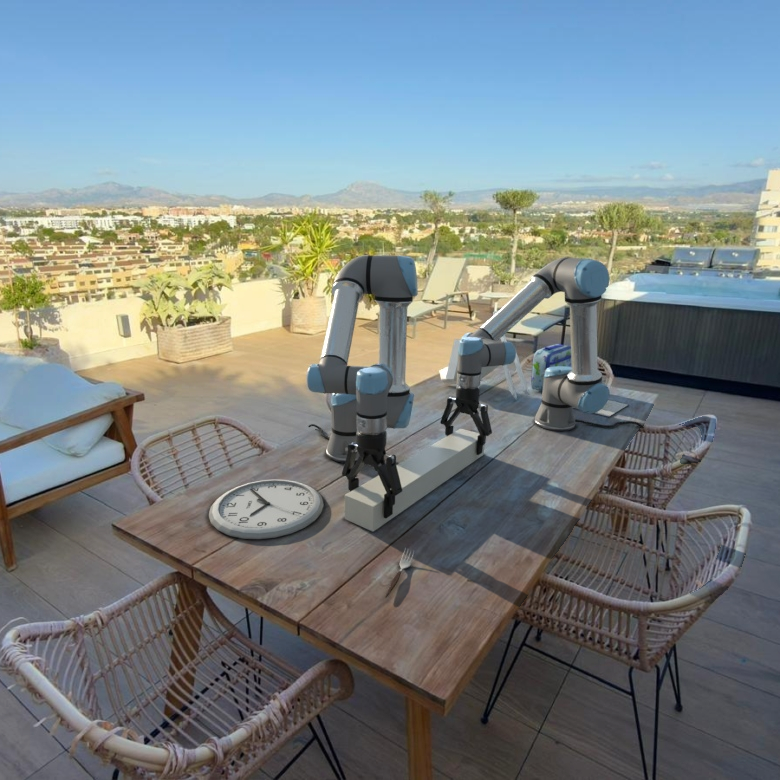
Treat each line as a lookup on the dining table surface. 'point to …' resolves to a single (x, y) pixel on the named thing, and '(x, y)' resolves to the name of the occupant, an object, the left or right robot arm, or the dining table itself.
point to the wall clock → (266, 509)
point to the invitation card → (611, 408)
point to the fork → (403, 565)
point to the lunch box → (548, 362)
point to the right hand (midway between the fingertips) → (464, 449)
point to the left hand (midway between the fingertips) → (371, 508)
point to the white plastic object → (482, 370)
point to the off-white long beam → (413, 479)
